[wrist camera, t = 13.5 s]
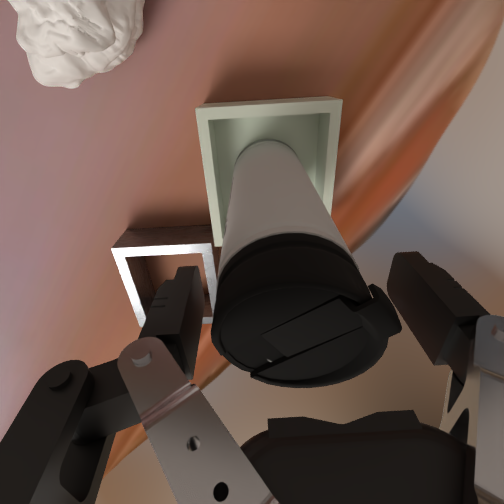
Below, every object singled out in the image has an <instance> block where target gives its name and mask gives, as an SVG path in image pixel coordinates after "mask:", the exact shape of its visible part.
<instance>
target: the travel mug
mask: <svg viewBox="0 0 504 504" xmlns="http://www.w3.org/2000/svg"><path fill="white" fill-rule="evenodd" d="M368 288H369V289H368ZM369 290H370V291H371V293H372V295H373V297H374V298H372V297H371V295H370V291H369ZM401 330H402V326H401V323H400V320H399V318H398V315H397V313H396V310H395V308H394V306H393V304H392V303H391V301H390V300H389V298H388V297H387V296H386V294H385V293H384V292H383V291H382V289H381V288H379V287H377V286H376V285H374V284H371V285H369V286H368V287H367V285H366V283H365V281H364V280H363V278H362V276H361V274H360V272H359V268H358V266H357V264H356V262H355V260H354V258H353V257H352V255H351V253H350V251H349V249H348V247H347V245H346V244H345V242H344V240H343V238H342V236H341V235H340V233H339V231H338V229H337V227H336V225H335V224H334V222H333V220H332V218H331V216H330V214H329V213H328V211H327V209H326V207H325V205H324V204H323V202H322V200H321V198H320V196H319V194H318V193H317V191H316V189H315V187H314V185H313V184H312V182H311V180H310V178H309V176H308V174H307V173H306V171H305V169H304V167H303V165H302V164H301V162H300V160H299V158H298V156H297V154H296V153H295V151H294V150H293V149H292V148H291V147H290V146H289V145H287V144H286V143H284V142H282V141H280V140H276V139H261V140H257V141H255V142H253V143H251V144H249V145H248V146H246V147H245V148H244V149H243V150H242V151H241V153H240V154H239V156H238V157H237V160H236V162H235V165H234V171H233V178H232V184H231V191H230V198H229V204H228V211H227V218H226V224H225V231H224V237H223V244H222V251H221V257H220V264H219V270H218V278H217V284H216V301H215V306H214V313H213V321H212V328H211V338H212V343H213V345H214V346H215V348H216V349H217V350H218V352H219V353H220V355H221V356H222V355H223V356H224V357H225V358H226V359H227V360H228V361H229V362H231V363H232V364H233V365H235V366H236V367H238V368H240V369H241V370H244V371H248V372H251V374H250V375H251V378H254V379H256V380H259V381H261V382H264V383H266V384H270V385H275V386H281V387H291V388H312V387H322V386H328V385H333V384H337V383H340V382H343V381H346V380H349V379H352V378H354V377H356V376H358V375H360V374H362V373H364V372H365V371H367V370H368V369H369V368H371V367H372V366H374V364H375V363H376V362H377V361H378V360H379V359H380V358H381V357H382V355H383V353H384V351H385V349H386V348H387V343H388V338H389V337H391V336H393V335H395V334H397V333H400V332H401Z"/></svg>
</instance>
